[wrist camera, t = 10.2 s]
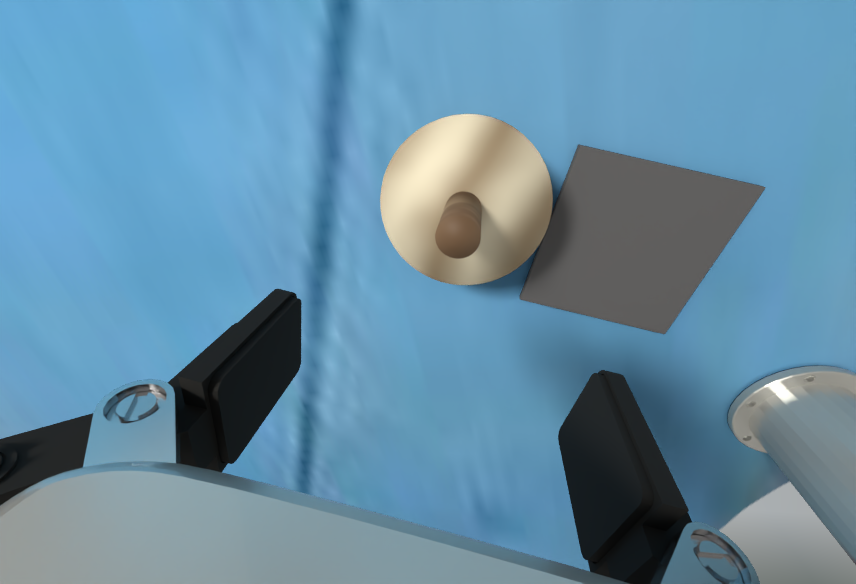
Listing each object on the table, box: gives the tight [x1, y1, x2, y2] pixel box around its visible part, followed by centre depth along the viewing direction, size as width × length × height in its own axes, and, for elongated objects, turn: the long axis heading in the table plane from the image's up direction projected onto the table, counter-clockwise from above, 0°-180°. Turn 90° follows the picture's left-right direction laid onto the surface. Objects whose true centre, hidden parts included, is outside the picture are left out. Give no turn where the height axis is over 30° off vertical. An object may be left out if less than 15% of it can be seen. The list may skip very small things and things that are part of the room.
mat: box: [520, 145, 766, 334], centre depth 32 cm, size 15×15×1 cm
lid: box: [380, 114, 553, 285], centre depth 24 cm, size 13×13×7 cm
